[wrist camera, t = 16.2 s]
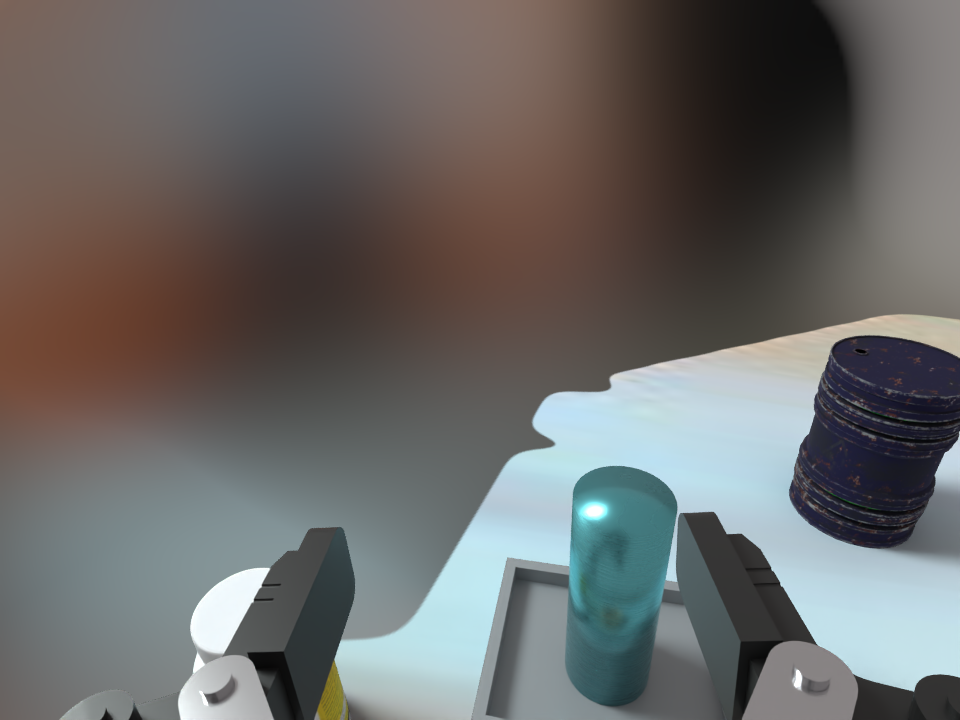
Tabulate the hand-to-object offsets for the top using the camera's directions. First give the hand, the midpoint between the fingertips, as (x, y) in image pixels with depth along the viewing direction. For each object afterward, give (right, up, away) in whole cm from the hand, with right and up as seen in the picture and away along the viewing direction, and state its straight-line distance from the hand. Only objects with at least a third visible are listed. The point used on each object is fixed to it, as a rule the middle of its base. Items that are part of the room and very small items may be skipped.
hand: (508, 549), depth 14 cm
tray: (+8, -17, +25) cm, 31 cm away
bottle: (+8, -16, +25) cm, 31 cm away
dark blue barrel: (+33, -9, +38) cm, 51 cm away
